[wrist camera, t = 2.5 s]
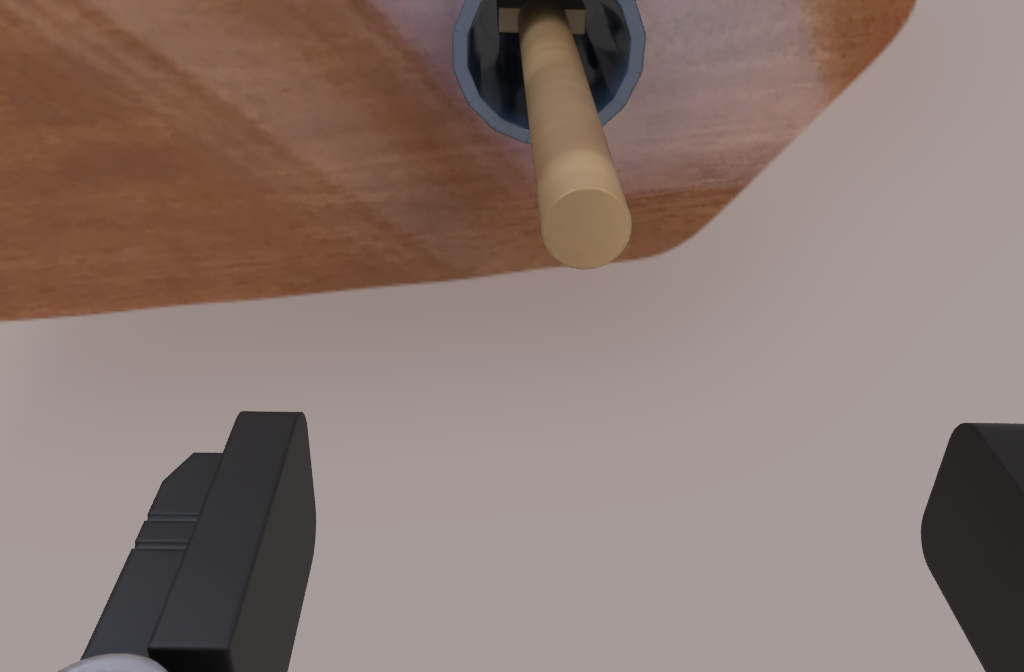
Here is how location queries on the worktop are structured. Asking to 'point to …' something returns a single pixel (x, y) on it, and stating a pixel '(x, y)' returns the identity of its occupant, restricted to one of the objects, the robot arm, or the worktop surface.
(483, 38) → the crock
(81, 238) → the worktop surface
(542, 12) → the wooden stirring stick
